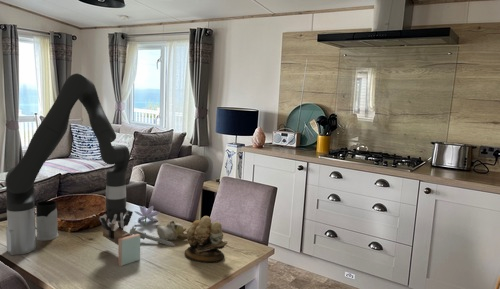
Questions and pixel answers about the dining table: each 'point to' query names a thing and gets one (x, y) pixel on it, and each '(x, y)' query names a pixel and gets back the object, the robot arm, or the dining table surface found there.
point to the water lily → (147, 214)
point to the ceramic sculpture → (171, 231)
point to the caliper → (149, 237)
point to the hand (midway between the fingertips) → (116, 237)
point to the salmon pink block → (128, 249)
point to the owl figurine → (205, 241)
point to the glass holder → (46, 220)
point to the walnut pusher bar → (115, 234)
